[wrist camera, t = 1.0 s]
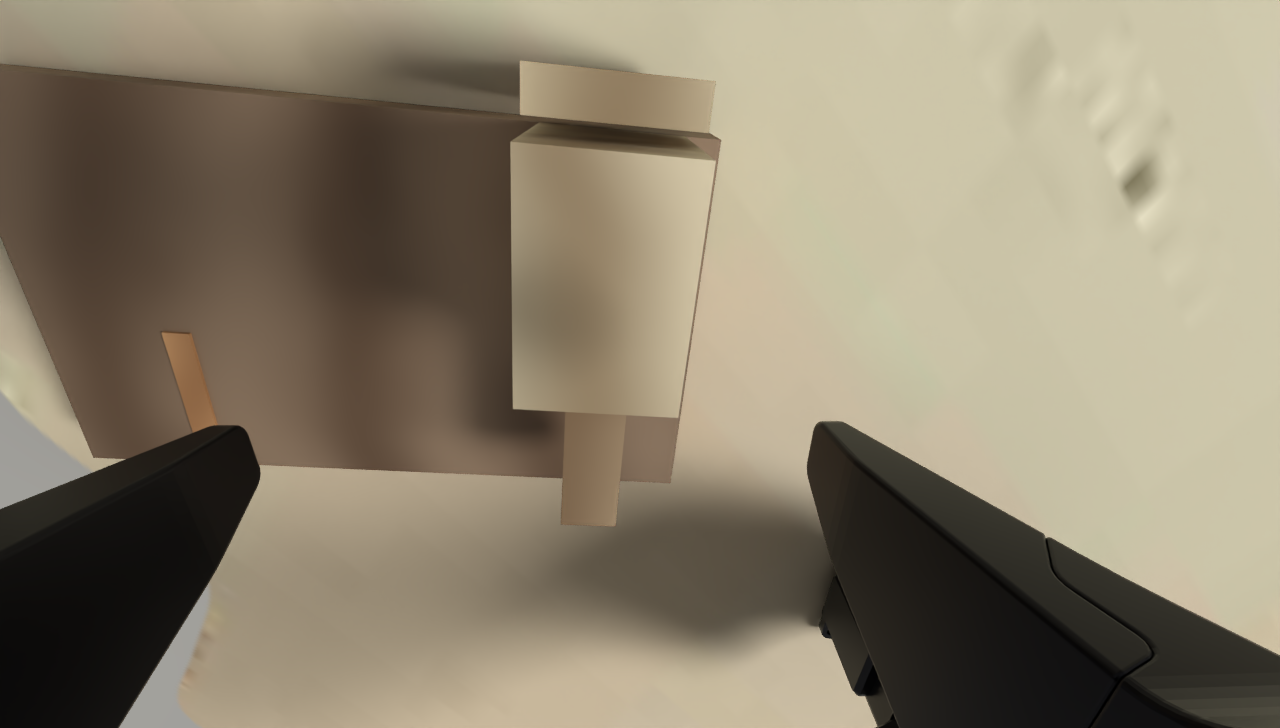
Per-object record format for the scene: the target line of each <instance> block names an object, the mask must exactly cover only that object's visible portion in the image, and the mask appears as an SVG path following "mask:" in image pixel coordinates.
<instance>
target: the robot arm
mask: <svg viewBox="0 0 1280 728" xmlns="http://www.w3.org/2000/svg"><path fill="white" fill-rule="evenodd" d="M807 475H808V479H809V483H810V487H811V490H812V494H813V498H814V501H815V505H816V508H817V512H818V516H819V519H820V523H821V527H822V530H823V534H824V537H825V541H826V545H827V548H828V551H829V554H830V558H831V560H832V563H833V566H834V568H835V571H836V575H835V577H834V578H833V581H832V584H831V587H830V590H829V593H828V596H827V599H826V602H825V605H824V607H823V610H822V618H821V621H820V624H819V628H820V630H821V633H822V635H823V636H824V637H825V638H829V639H832V640H833V643H834V645H835V648H836V650H837V653H838V655H839V658H840V660H841V663H842V665H843V668H844V670H845V673H846V676H847V678H848V681H849V683H850V686H851V688H852V690H853V691H854V692H855V694H856V695H858V696H865V697H866V699H867V702H868V704H869V707H870V709H871V712H872V714H873V716H874V719H875V721H876V724H877V726H878V727H876V728H1280V655H1278V654H1276V653H1274V652H1272V651H1270V650H1268V649H1266V648H1264V647H1262V646H1260V645H1258V644H1256V643H1254V642H1252V641H1250V640H1248V639H1246V638H1244V637H1242V636H1240V635H1238V634H1236V633H1234V632H1232V631H1229V630H1227V629H1225V628H1223V627H1221V626H1219V625H1217V624H1215V623H1213V622H1211V621H1209V620H1207V619H1205V618H1203V617H1201V616H1199V615H1197V614H1195V613H1193V612H1191V611H1189V610H1187V609H1185V608H1183V607H1181V606H1179V605H1177V604H1175V603H1173V602H1171V601H1169V600H1167V599H1165V598H1163V597H1161V596H1159V595H1157V594H1155V593H1153V592H1151V591H1149V590H1147V589H1145V588H1143V587H1141V586H1139V585H1138V584H1136V583H1134V582H1132V581H1130V580H1128V579H1126V578H1124V577H1122V576H1120V575H1118V574H1116V573H1114V572H1112V571H1111V570H1109V569H1107V568H1105V567H1103V566H1101V565H1100V564H1098V563H1096V562H1094V561H1092V560H1090V559H1088V558H1087V557H1085V556H1083V555H1081V554H1079V553H1077V552H1076V551H1074V550H1072V549H1070V548H1068V547H1067V546H1065V545H1063V544H1061V543H1060V542H1058V541H1056V540H1054V539H1052V538H1050V537H1048V538H1045V535H1044V534H1043V533H1041V532H1040V531H1038V530H1036V529H1034V528H1032V527H1031V526H1029V525H1027V524H1025V523H1023V522H1022V521H1020V520H1018V519H1016V518H1015V517H1013V516H1011V515H1009V514H1007V513H1006V512H1004V511H1002V510H1000V509H998V508H997V507H995V506H993V505H991V504H989V503H988V502H986V501H984V500H982V499H980V498H979V497H977V496H975V495H973V494H971V493H970V492H968V491H966V490H964V489H963V488H961V487H959V486H957V485H955V484H954V483H952V482H950V481H948V480H946V479H945V478H943V477H941V476H939V475H937V474H936V473H934V472H932V471H930V470H928V469H927V468H925V467H923V466H921V465H919V464H918V463H916V462H914V461H912V460H911V459H909V458H907V457H905V456H903V455H902V454H900V453H898V452H896V451H894V450H893V449H891V448H889V447H887V446H885V445H884V444H882V443H880V442H878V441H877V440H875V439H873V438H871V437H869V436H868V435H866V434H864V433H862V432H860V431H859V430H857V429H855V428H853V427H851V426H850V425H848V424H846V423H844V422H840V421H822V422H819V423H817V424H816V426H815V428H814V431H813V436H812V441H811V446H810V451H809V456H808V462H807ZM259 480H260V467H259V464H258V461H257V458H256V455H255V452H254V450H253V447H252V444H251V441H250V438H249V435H248V433H247V431H246V430H245V429H244V428H243V427H241V426H239V425H213V426H209V427H206V428H204V429H201V430H199V431H196V432H194V433H191V434H189V435H186V436H184V437H181V438H179V439H176V440H173V441H171V442H168V443H166V444H163V445H161V446H158V447H156V448H153V449H151V450H148V451H146V452H143V453H141V454H138V455H136V456H133V457H131V458H128V459H126V460H123V461H121V462H118V463H116V464H113V465H111V466H108V467H105V468H103V469H100V470H98V471H95V472H93V473H90V474H88V475H86V476H83V477H80V478H78V479H75V480H73V481H70V482H68V483H66V484H63V485H60V486H58V487H55V488H53V489H50V490H48V491H45V492H43V493H40V494H38V495H35V496H32V497H30V498H28V499H25V500H22V501H20V502H17V503H15V504H12V505H10V506H7V507H5V508H2V509H0V728H119V727H120V725H121V723H122V722H123V720H124V718H125V717H126V715H127V714H128V712H129V710H130V709H131V707H132V706H133V704H134V702H135V701H136V699H137V698H138V696H139V694H140V693H141V691H142V690H143V688H144V686H145V685H146V683H147V681H148V680H149V678H150V676H151V675H152V673H153V672H154V670H155V668H156V667H157V665H158V664H159V662H160V660H161V659H162V657H163V656H164V654H165V652H166V651H167V649H168V648H169V646H170V644H171V643H172V641H173V639H174V638H175V636H176V635H177V633H178V631H179V630H180V628H181V627H182V625H183V623H184V622H185V620H186V619H187V617H188V615H189V614H190V612H191V611H192V609H193V607H194V606H195V604H196V602H197V601H198V599H199V598H200V596H201V595H202V593H203V591H204V590H205V588H206V587H207V585H208V583H209V581H210V580H211V578H212V576H213V575H214V573H215V571H216V569H217V567H218V566H219V564H220V562H221V560H222V558H223V556H224V554H225V552H226V550H227V548H228V546H229V544H230V542H231V540H232V538H233V536H234V534H235V531H236V529H237V527H238V525H239V523H240V521H241V519H242V517H243V515H244V513H245V511H246V509H247V507H248V505H249V503H250V501H251V499H252V497H253V494H254V492H255V490H256V488H257V486H258V484H259Z"/></svg>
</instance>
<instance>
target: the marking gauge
mask: <svg viewBox="0 0 1280 728" xmlns="http://www.w3.org/2000/svg"><path fill="white" fill-rule="evenodd" d="M715 83H716V81H708V80H699V79H689V78H680V77H670V76H661V75H652V74H642V73H633V72H623V71H614V70H604V69H595V68H585V67H576V66H567V65H557V64H548V63H538V62H529V61H520V115H528V116H538V117H548V118H559V119H569V120H579V121H589V122H599V123H610V124H620V125H630V126H640V127H650V128H661V129H671V130H681V131H691V132H702V133H709V127H710V120H711V112H712V105H713V98H714V91H715ZM510 157H511V265H512V372H513V409H522V410H540V411H559V412H565V433H564V458H563V483H562V508H561V524H563V525H590V526H616V516H617V505H618V495H619V485H620V475H621V464H622V454H623V444H624V433H625V423H626V415H633V416H651V417H670V418H678V416H679V409H680V402H681V396H682V389H683V382H684V375H685V368H686V362H687V355H688V348H689V341H690V334H691V327H692V321H693V314H694V307H695V300H696V293H697V286H698V280H699V273H700V266H701V259H702V252H703V245H704V239H705V232H706V225H707V218H708V211H709V205H710V198H711V191H712V184H713V177H714V170H715V164H716V161H715V160H714V159H713V158H712V157H710V156H709V155H708V154H707V153H705V152H704V151H703V150H702V149H700V148H699V147H698V146H697V145H695V144H694V143H693V142H692V141H690V140H689V139H688V138H687V137H685V136H675V135H664V134H654V133H644V132H633V131H623V130H613V129H603V128H592V127H582V126H572V125H561V124H551V123H541V122H539V123H538V124H536V125H535V126H533V127H532V128H530V129H529V130H527V131H526V132H524V133H523V134H521V135H520V136H518V137H517V138H515V139H514V140H512V141H511V142H510Z"/></svg>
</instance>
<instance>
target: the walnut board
mask: <svg viewBox="0 0 1280 728" xmlns="http://www.w3.org/2000/svg"><path fill="white" fill-rule="evenodd" d="M539 122H541V123H551V124H561V125H572V126H582V127H592V128H603V129H613V130H623V131H633V132H644V133H654V134H664V135H675V136H685V137H687V138H688V139H689V140H690V141H692V142H693V143H694V144H695V145H697V146H698V147H699V148H700V149H702V150H703V151H704V152H705V153H707V154H708V155H709V156H710V157H712V158H713V159H714V160H715V161H716V164H715V170H714V177H713V184H712V191H711V198H710V205H709V211H708V218H707V225H706V232H705V239H704V245H703V252H702V259H701V266H700V273H699V280H698V286H697V293H696V300H695V307H694V314H693V321H692V327H691V334H690V341H689V348H688V355H687V362H686V368H685V375H684V382H683V389H682V396H681V402H680V409H679V416H678V418H670V417H651V416H633V415H626V423H625V433H624V444H623V454H622V464H621V475H620V481H637V482H660V483H670V482H671V475H672V468H673V461H674V455H675V448H676V441H677V434H678V428H679V421H680V414H681V407H682V401H683V394H684V387H685V380H686V374H687V367H688V360H689V353H690V347H691V340H692V333H693V326H694V320H695V313H696V306H697V299H698V293H699V286H700V279H701V272H702V266H703V259H704V252H705V245H706V239H707V232H708V225H709V218H710V212H711V205H712V198H713V191H714V185H715V178H716V171H717V164H718V158H719V151H720V144H721V140H720V139H719V138H717V137H715V136H713V135H712V134H710V133H700V132H690V131H680V130H669V129H659V128H649V127H639V126H629V125H618V124H608V123H598V122H588V121H578V120H567V119H557V118H547V117H537V116H526V115H516V114H506V113H496V112H486V111H475V110H465V109H455V108H445V107H435V106H424V105H414V104H404V103H394V102H383V101H373V100H363V99H353V98H343V97H332V96H322V95H312V94H302V93H291V92H281V91H271V90H261V89H251V88H240V87H230V86H220V85H210V84H200V83H189V82H179V81H169V80H159V79H148V78H138V77H128V76H118V75H108V74H97V73H87V72H77V71H67V70H57V69H46V68H36V67H26V66H16V65H5V64H0V236H1V239H2V241H3V244H4V246H5V248H6V251H7V253H8V256H9V258H10V260H11V263H12V265H13V267H14V270H15V272H16V275H17V277H18V279H19V282H20V284H21V286H22V289H23V291H24V294H25V296H26V298H27V301H28V303H29V305H30V308H31V310H32V313H33V315H34V317H35V320H36V322H37V324H38V327H39V329H40V332H41V334H42V336H43V339H44V341H45V344H46V346H47V348H48V351H49V353H50V355H51V358H52V360H53V363H54V365H55V367H56V370H57V372H58V374H59V377H60V379H61V382H62V384H63V386H64V389H65V391H66V393H67V396H68V398H69V401H70V403H71V405H72V408H73V410H74V412H75V415H76V417H77V420H78V422H79V424H80V427H81V429H82V432H83V434H84V436H85V439H86V441H87V443H88V446H89V448H90V451H91V453H92V455H93V458H115V459H128V458H131V457H133V456H136V455H138V454H141V453H143V452H146V451H148V450H151V449H153V448H156V447H158V446H161V445H163V444H166V443H168V442H171V441H173V440H176V439H179V438H181V437H184V436H186V435H189V434H191V433H194V432H196V431H199V430H201V429H204V428H206V427H209V426H213V425H239V426H241V427H243V428H244V429H245V430H246V431H247V433H248V435H249V438H250V441H251V444H252V447H253V450H254V452H255V455H256V458H257V461H258V464H259V465H274V466H297V467H320V468H342V469H365V470H388V471H410V472H433V473H456V474H478V475H501V476H524V477H547V478H563V458H564V433H565V412H559V411H540V410H522V409H513V372H512V265H511V157H510V142H511V141H512V140H514V139H515V138H517V137H518V136H520V135H521V134H523V133H524V132H526V131H527V130H529V129H530V128H532V127H533V126H535V125H536V124H538V123H539Z"/></svg>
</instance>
